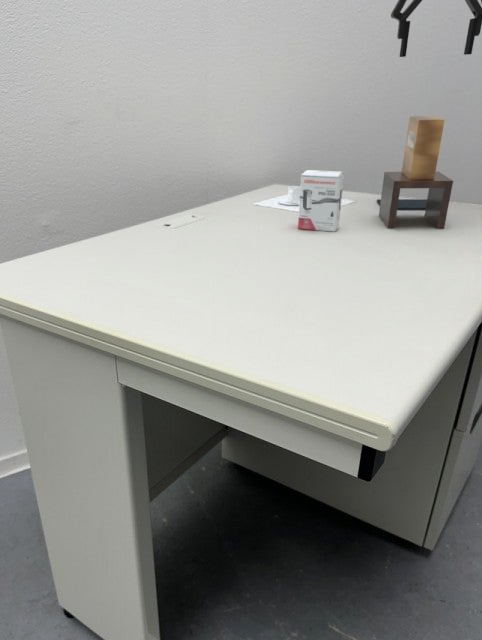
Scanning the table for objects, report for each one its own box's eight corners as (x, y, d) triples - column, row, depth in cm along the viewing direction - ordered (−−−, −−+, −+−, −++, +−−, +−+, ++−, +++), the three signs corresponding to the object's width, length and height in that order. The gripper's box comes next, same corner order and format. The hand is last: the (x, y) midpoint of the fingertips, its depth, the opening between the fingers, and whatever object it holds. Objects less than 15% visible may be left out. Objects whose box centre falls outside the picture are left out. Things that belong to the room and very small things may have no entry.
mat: (431, 201, 142) (432, 199, 142) (441, 210, 134) (442, 207, 133) (376, 201, 144) (376, 199, 144) (383, 210, 135) (383, 207, 135)
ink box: (296, 229, 121) (300, 173, 115) (301, 224, 125) (305, 169, 120) (335, 232, 118) (341, 174, 113) (339, 226, 122) (345, 171, 117)
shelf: (430, 215, 129) (438, 171, 124) (444, 228, 119) (453, 180, 114) (378, 215, 130) (384, 171, 126) (387, 228, 120) (394, 181, 115)
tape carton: (424, 172, 123) (433, 116, 118) (434, 179, 116) (445, 119, 110) (401, 172, 124) (409, 116, 118) (409, 179, 116) (418, 119, 110)
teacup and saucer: (291, 198, 150) (292, 182, 148) (315, 201, 145) (317, 186, 143) (271, 203, 145) (272, 187, 143) (296, 207, 140) (297, 191, 138)
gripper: (393, -69, 106) (379, 57, 116) (528, -77, 103) (501, 53, 114) (385, -61, 112) (372, 58, 123) (512, -69, 110) (488, 53, 120)
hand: (434, 55), depth 118 cm, fingers open, 13 cm apart
